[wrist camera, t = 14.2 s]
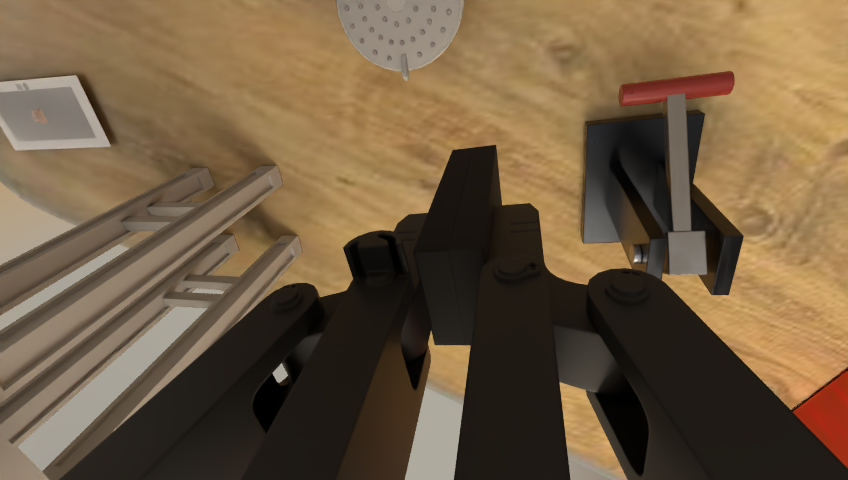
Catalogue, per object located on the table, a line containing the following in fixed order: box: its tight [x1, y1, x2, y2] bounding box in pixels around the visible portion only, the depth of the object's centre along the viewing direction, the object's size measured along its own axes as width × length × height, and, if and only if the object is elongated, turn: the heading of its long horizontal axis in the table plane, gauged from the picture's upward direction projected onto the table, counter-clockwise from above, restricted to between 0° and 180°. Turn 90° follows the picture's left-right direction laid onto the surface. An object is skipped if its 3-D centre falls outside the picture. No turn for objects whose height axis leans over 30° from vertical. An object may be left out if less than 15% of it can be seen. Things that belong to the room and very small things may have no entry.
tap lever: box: [619, 71, 734, 275], centre depth 27 cm, size 13×6×2 cm, turn 10°
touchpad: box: [0, 75, 111, 150], centre depth 46 cm, size 8×15×2 cm, turn 96°
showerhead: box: [336, 0, 465, 80], centre depth 31 cm, size 9×7×10 cm
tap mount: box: [581, 110, 744, 295], centre depth 31 cm, size 12×9×15 cm
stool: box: [0, 166, 302, 480], centre depth 34 cm, size 16×16×35 cm
